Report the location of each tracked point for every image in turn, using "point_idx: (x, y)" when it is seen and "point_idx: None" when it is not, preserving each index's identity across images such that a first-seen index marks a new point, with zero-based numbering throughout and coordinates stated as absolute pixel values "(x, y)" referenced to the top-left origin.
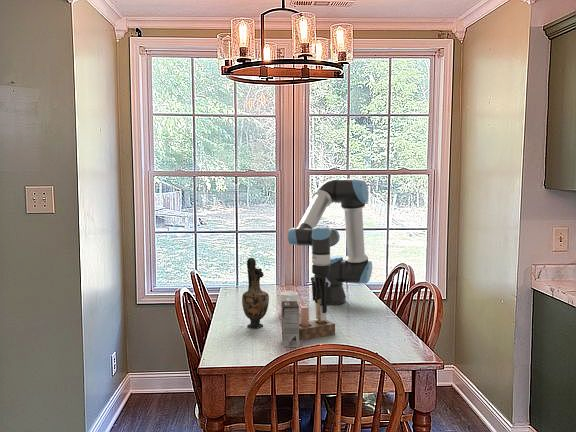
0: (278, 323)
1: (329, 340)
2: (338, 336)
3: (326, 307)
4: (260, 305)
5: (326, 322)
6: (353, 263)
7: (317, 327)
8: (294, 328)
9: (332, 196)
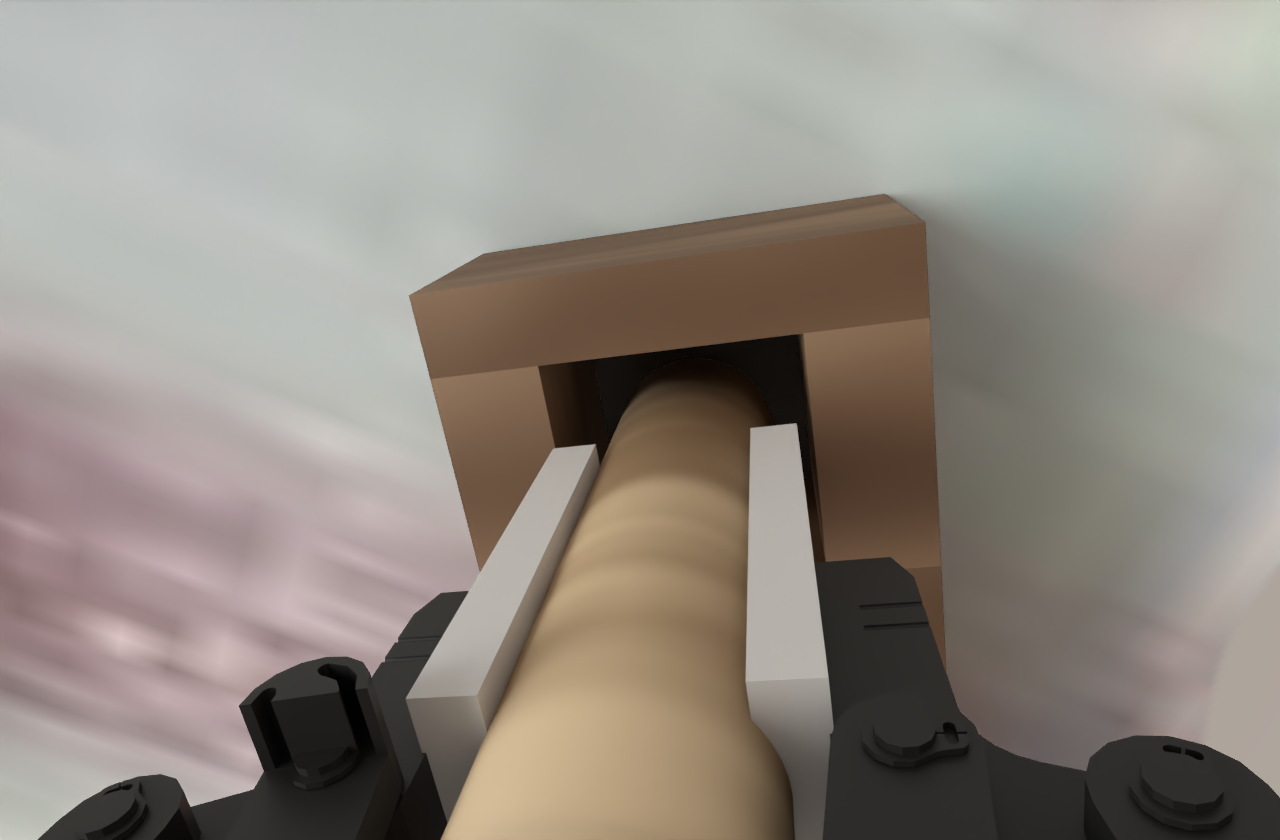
0: (67, 742)
1: (1158, 444)
2: (1036, 191)
3: (945, 685)
4: None
5: (680, 345)
6: None
7: (940, 654)
8: None
9: None
